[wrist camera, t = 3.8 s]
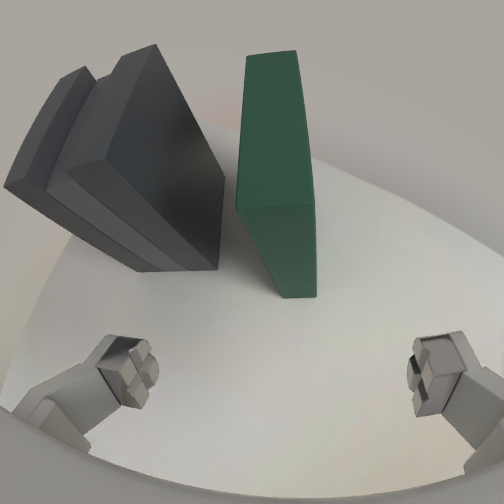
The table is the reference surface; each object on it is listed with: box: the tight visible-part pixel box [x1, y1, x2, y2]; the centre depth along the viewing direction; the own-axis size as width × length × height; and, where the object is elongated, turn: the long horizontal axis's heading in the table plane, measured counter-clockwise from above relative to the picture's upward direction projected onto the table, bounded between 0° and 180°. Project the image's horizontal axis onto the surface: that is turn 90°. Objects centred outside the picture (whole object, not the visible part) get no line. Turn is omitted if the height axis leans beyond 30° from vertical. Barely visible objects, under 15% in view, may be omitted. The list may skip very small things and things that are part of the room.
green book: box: [235, 50, 317, 298], centre depth 17 cm, size 2×9×14 cm, turn 178°
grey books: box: [4, 44, 225, 272], centre depth 19 cm, size 8×9×16 cm
